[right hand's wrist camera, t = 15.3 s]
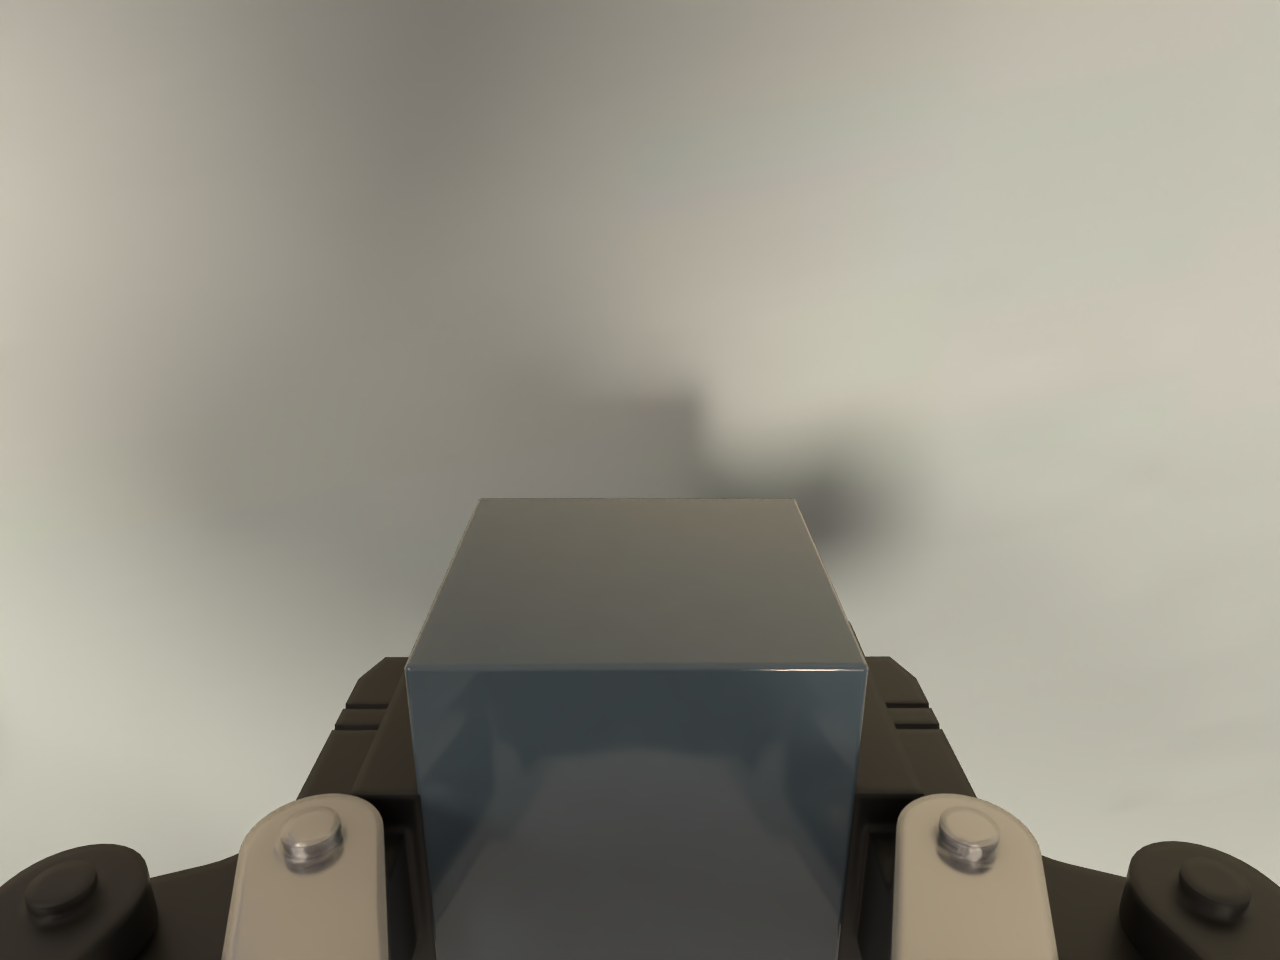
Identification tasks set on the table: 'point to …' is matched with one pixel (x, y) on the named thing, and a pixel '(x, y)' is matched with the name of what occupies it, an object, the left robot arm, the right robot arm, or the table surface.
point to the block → (636, 733)
